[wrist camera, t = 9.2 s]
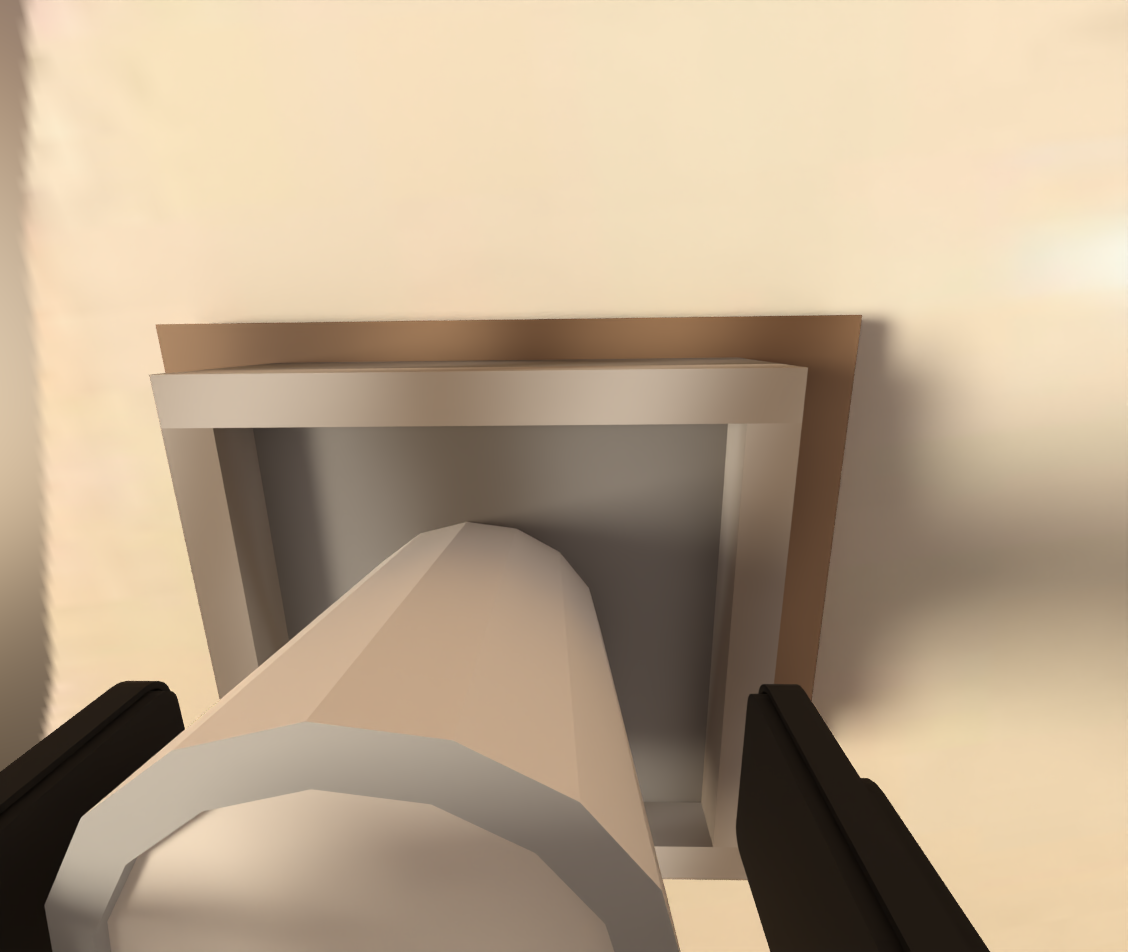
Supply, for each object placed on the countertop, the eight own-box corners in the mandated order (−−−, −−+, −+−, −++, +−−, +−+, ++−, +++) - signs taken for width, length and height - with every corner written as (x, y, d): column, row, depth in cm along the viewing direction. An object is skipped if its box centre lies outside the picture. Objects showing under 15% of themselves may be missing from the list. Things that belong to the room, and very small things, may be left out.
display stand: (833, 316, 14) (991, 306, 9) (783, 737, 18) (874, 913, 13) (196, 325, 15) (-26, 319, 9) (273, 734, 19) (146, 901, 13)
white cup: (621, 486, 11) (690, 717, 4) (631, 750, 13) (692, 1202, 6) (309, 503, 11) (-73, 746, 5) (361, 760, 13) (137, 1201, 7)
